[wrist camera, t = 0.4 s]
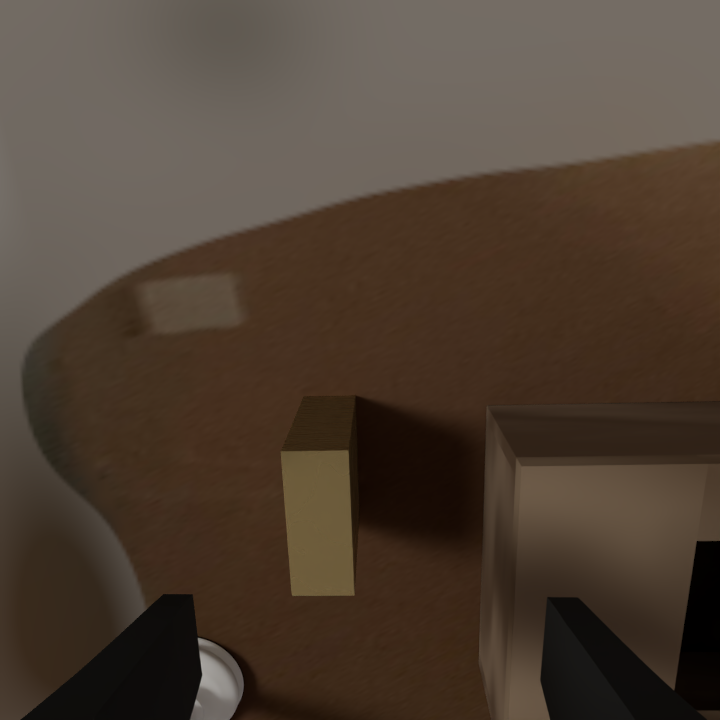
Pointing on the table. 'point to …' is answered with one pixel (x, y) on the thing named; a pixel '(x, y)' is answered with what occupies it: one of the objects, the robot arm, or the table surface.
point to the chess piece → (217, 684)
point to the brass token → (322, 496)
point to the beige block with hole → (596, 537)
